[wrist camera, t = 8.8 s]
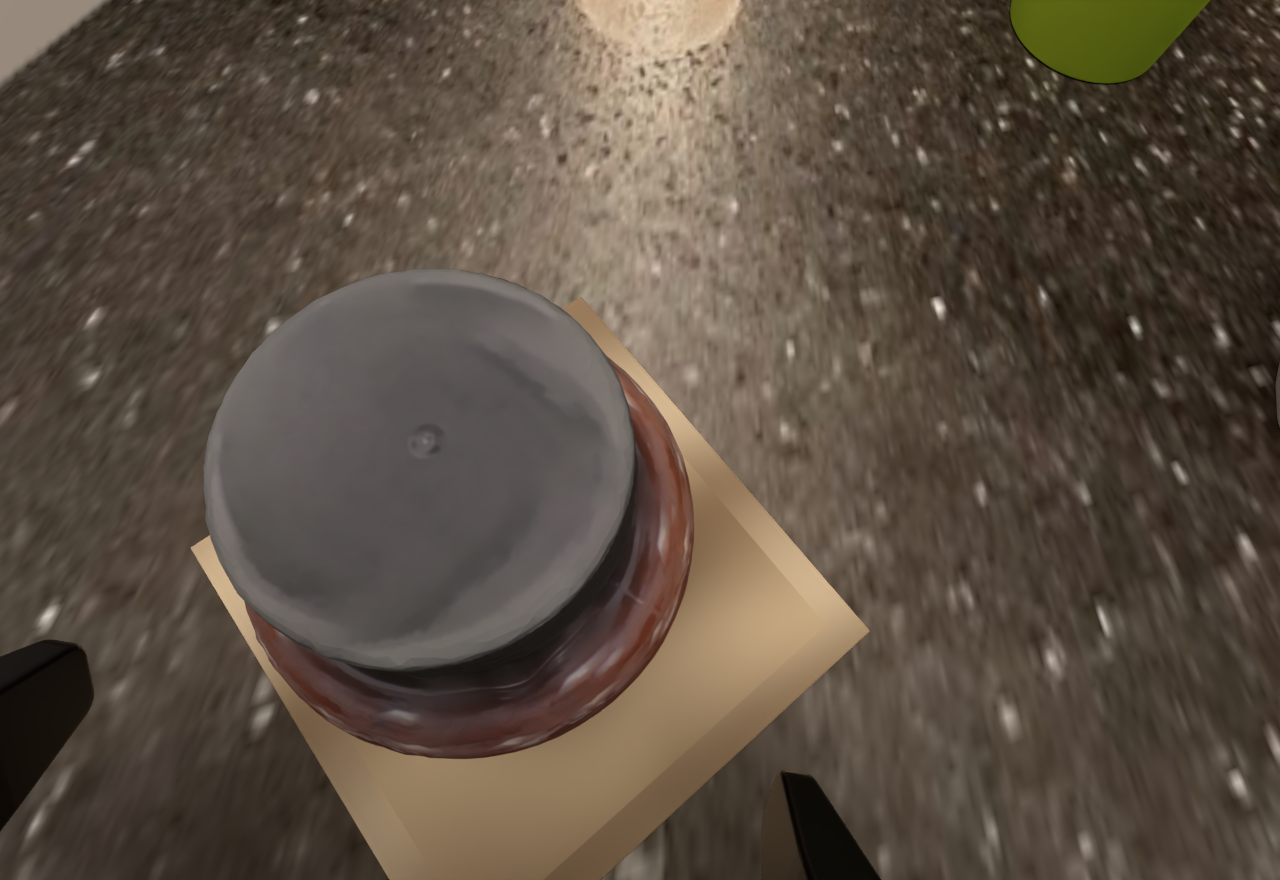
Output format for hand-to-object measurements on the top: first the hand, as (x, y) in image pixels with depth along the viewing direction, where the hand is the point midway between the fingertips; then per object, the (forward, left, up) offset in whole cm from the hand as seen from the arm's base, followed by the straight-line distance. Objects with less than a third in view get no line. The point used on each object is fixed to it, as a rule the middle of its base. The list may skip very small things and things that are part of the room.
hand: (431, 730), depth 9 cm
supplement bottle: (+1, -3, -8) cm, 8 cm away
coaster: (+1, -3, -9) cm, 9 cm away
